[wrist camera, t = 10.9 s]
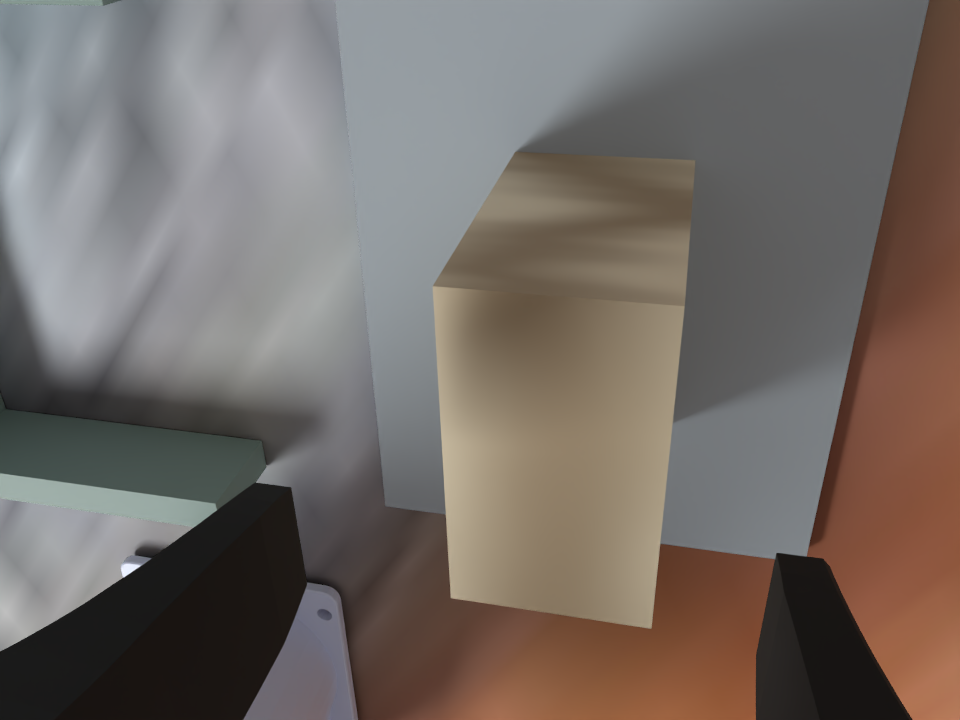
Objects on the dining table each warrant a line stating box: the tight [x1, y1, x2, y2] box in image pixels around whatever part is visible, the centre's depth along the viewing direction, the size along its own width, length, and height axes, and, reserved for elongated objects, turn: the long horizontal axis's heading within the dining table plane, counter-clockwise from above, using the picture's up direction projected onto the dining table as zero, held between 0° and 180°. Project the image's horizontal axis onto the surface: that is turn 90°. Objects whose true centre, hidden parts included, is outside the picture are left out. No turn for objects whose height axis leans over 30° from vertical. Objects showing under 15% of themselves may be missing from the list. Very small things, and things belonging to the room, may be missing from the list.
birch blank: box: [433, 152, 695, 629], centre depth 19 cm, size 4×7×7 cm, turn 2°
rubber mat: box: [335, 0, 929, 559], centre depth 22 cm, size 16×12×1 cm
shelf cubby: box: [0, 0, 266, 527], centre depth 24 cm, size 15×10×3 cm, turn 2°
